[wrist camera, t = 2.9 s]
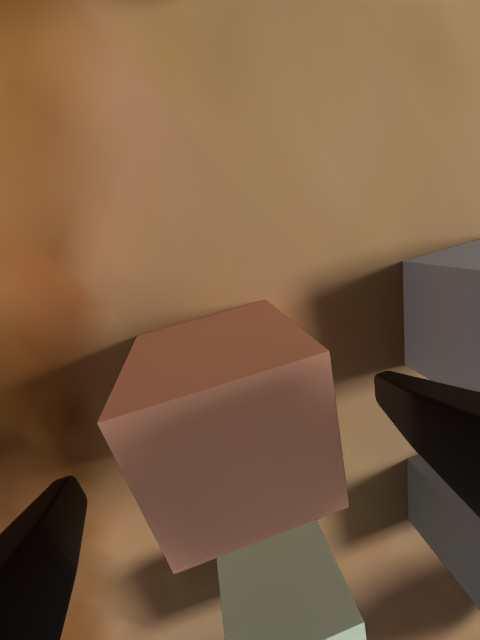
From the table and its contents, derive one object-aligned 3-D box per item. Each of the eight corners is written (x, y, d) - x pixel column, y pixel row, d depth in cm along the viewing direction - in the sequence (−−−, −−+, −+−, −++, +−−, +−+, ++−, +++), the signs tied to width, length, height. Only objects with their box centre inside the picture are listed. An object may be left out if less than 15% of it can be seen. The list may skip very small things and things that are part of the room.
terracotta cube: (265, 299, 11) (329, 351, 6) (286, 403, 12) (349, 507, 8) (137, 334, 10) (96, 422, 5) (177, 438, 12) (174, 574, 7)
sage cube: (305, 495, 14) (364, 622, 10) (317, 554, 16) (372, 687, 11) (213, 529, 14) (229, 681, 9) (235, 587, 15) (258, 740, 11)
